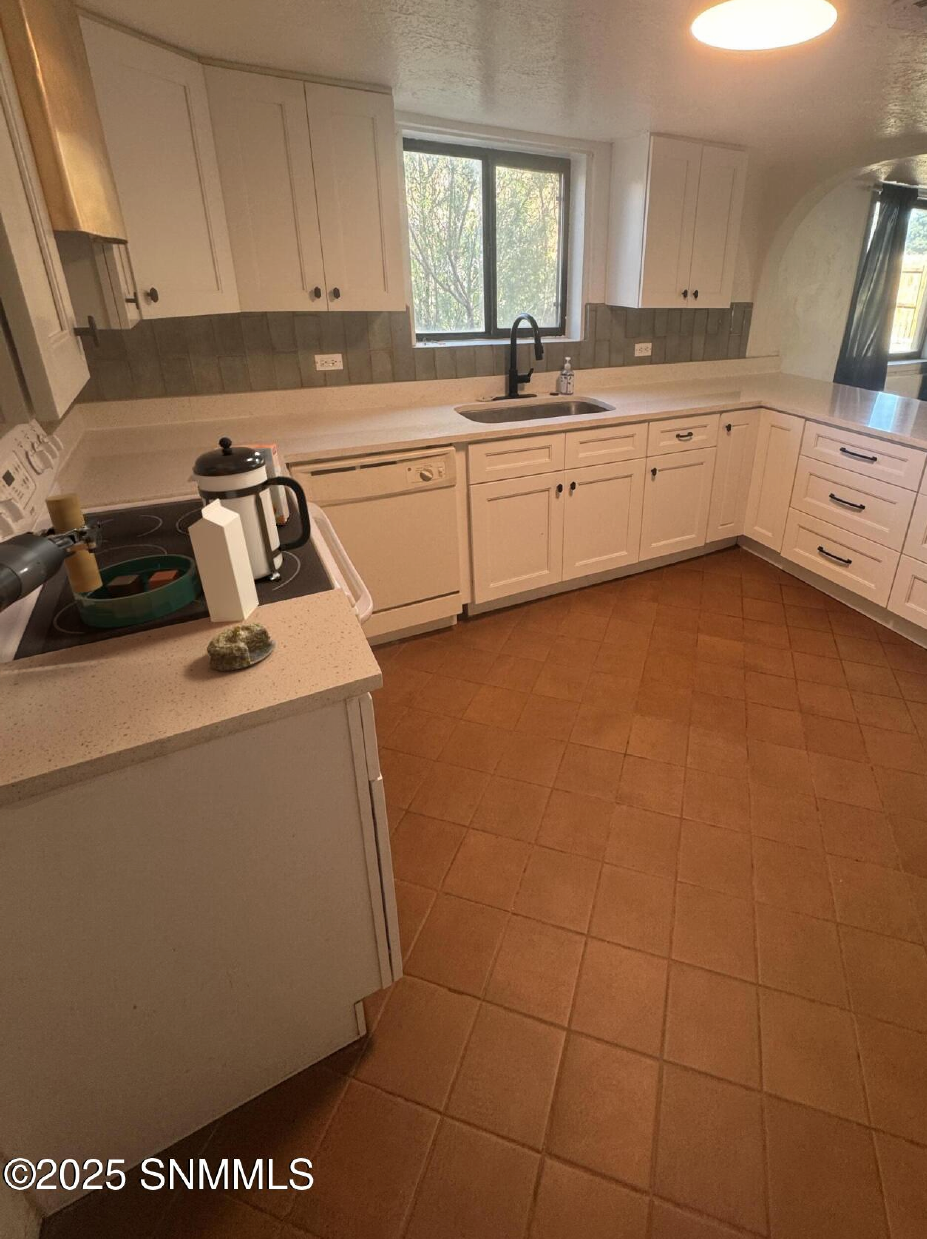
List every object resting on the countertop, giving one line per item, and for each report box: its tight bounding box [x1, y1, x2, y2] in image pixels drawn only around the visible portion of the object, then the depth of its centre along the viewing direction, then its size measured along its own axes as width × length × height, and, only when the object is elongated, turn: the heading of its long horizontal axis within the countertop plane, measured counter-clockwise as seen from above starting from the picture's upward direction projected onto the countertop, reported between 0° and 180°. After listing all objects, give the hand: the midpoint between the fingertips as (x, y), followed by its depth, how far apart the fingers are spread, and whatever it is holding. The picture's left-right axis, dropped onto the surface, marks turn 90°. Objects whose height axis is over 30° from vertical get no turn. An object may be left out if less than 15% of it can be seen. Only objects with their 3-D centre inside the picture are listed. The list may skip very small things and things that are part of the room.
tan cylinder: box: [44, 492, 102, 593], centre depth 95 cm, size 4×4×16 cm
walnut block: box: [106, 575, 144, 599], centre depth 112 cm, size 4×4×4 cm
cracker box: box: [213, 442, 290, 523], centre depth 146 cm, size 14×6×21 cm, turn 102°
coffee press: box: [187, 436, 312, 584], centre depth 118 cm, size 17×16×30 cm
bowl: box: [71, 553, 202, 629], centre depth 111 cm, size 19×19×6 cm
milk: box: [187, 499, 260, 623], centre depth 103 cm, size 6×6×22 cm
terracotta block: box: [148, 570, 180, 590], centre depth 114 cm, size 4×4×4 cm
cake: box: [206, 622, 276, 672], centre depth 94 cm, size 10×10×5 cm
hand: (80, 526), depth 96 cm, fingers closed on tan cylinder, 4 cm apart
